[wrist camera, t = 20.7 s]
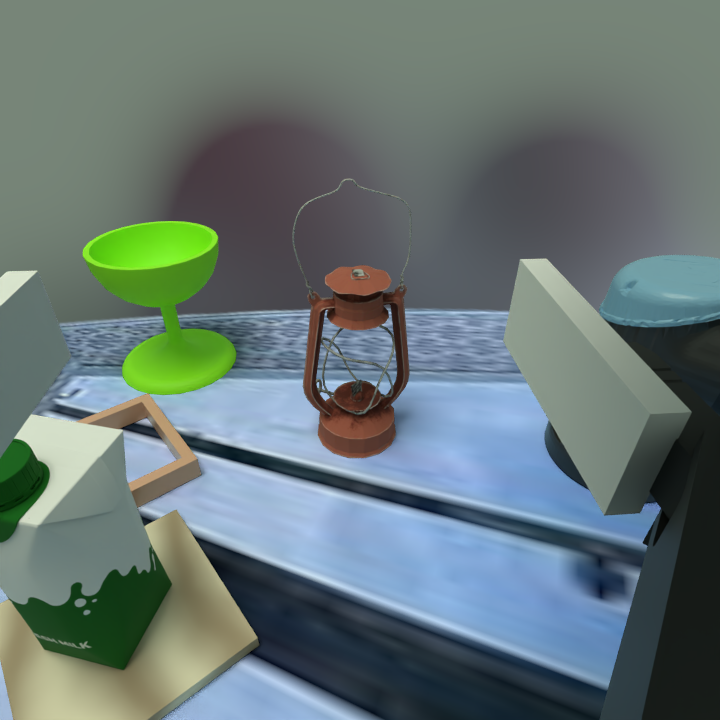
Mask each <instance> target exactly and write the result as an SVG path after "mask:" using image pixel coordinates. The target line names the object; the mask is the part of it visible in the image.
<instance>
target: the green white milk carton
mask: <svg viewBox="0 0 720 720" xmlns="http://www.w3.org/2000/svg"><path fill="white" fill-rule="evenodd" d="M171 585H172V583H171V581H170V579H169V577H168V575H167V573H166V571H165V569H164V568H163V566H162V564H161V562H160V560H159V558H158V556H157V554H156V552H155V551H154V549H153V547H152V545H151V543H150V540H149V537H148V535H147V532H146V530H145V527H144V524H143V522H142V519H141V516H140V514H139V511H138V509H137V506H136V503H135V501H134V498H133V495H132V493H131V490H130V487H129V485H128V482H127V478H126V466H125V452H124V437H123V430H119V429H113V428H108V427H102V426H96V425H90V424H84V423H78V422H72V421H67V420H61V419H55V418H49V417H43V416H37V415H30V416H29V418H28V419H27V421H26V422H25V423H24V425H23V426H22V428H21V429H20V431H19V432H18V433H17V435H16V436H15V438H14V439H13V441H12V442H11V443H10V445H9V446H8V448H7V449H6V451H5V452H4V453H3V455H2V456H1V458H0V587H1V589H2V590H3V591H4V593H5V594H6V596H7V597H8V598H9V600H10V601H11V602H12V604H13V605H14V607H15V608H16V609H17V611H18V612H19V614H20V615H21V616H22V618H23V619H24V620H25V622H26V623H27V625H28V626H29V627H30V629H31V631H32V632H33V634H34V635H35V637H36V638H37V640H38V641H39V643H40V644H41V646H42V647H43V649H44V650H48V651H52V652H55V653H59V654H63V655H67V656H71V657H75V658H78V659H82V660H86V661H90V662H94V663H98V664H101V665H105V666H109V667H113V668H117V669H120V670H124V669H125V667H126V666H127V664H128V662H129V660H130V658H131V657H132V655H133V653H134V651H135V650H136V648H137V646H138V644H139V642H140V641H141V639H142V637H143V635H144V634H145V632H146V630H147V628H148V626H149V625H150V623H151V621H152V619H153V617H154V616H155V614H156V612H157V610H158V609H159V607H160V605H161V603H162V601H163V600H164V598H165V596H166V594H167V592H168V591H169V589H170V587H171Z"/></svg>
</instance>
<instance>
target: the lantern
mask: <svg viewBox="0 0 720 720" xmlns="http://www.w3.org/2000/svg"><path fill="white" fill-rule="evenodd" d="M347 180H351V181H353V182H354V184H355V185H356V186H357V187H359V188H361V189H365V190H368V191H372V192H376V193H380V194H384V195H388V196H392V197H395V198H397V199H399V200H401V201H403V202H405V201H404V200H403V199H401V198H399V197H396V196H393V195H390V194H386V193H382V192H377V191H374V190H370V189H366V188H363V187H360V186H358V185H357V184H356V183H355V181H354V180H353V179H345V180H343V181H342V182H341V184H340V186H339V188H338V189H337V190H335V191H333V192H331V193H328V194H325V195H322V196H319V197H317V198H315V199H312V200H310V201H309V202H307V203H305V204H304V205H303V206H302V207H301V209H300V211H299V212H298V214H297V217H296V220H295V223H294V228H293V247H294V251H295V254H296V257H297V260H298V263H299V265H300V268H301V270H302V273H303V275H304V278H305V280H306V286H307V287H308V288H309V292H310V289H311V291H312V292H310V293H309V294H308V297H307V298H308V300H309V302H310V304H311V305H312V306H311V313H310V323H309V332H308V342H307V351H306V361H305V370H304V379H303V389H304V393H305V395H306V397H307V399H308V401H309V402H310V403H311V404H312V405H313V407H315V408H316V409H317V410H318V411H320V417H319V420H320V424H319V428H318V437H319V439H320V441H321V443H322V445H323V446H325V447H326V448H327V449H329V450H330V451H331V452H332V453H334V454H337V455H341V456H344V457H347V458H366V457H370V456H373V455H376V454H380V453H381V452H382V451H384V450H385V449H387V448H388V447H389V446H391V444H392V442H393V440H394V438H395V436H396V431H395V424H394V408H393V407H392V406H391V404H392V403H393V402H394V401H395V400H396V399H397V398H398V397H399V395H400V394H401V392H402V391H403V390H404V388H405V387H406V385H407V382H408V379H409V360H408V347H407V334H406V321H405V308H404V298H403V297H404V295H405V294H406V291H407V287H406V286H405V285H403V280H404V277H403V273H404V270H405V268H406V266H407V263H408V260H409V257H410V250H411V211H410V208H409V205H408V204H407V203H406V202H405V204H406V205H407V206H408V209H409V213H410V247H409V255H408V259H407V262H406V265H405V267H404V269H403V271H402V275H400V277H401V280H400V281H401V282H400V285H399V286H398V287H397V288H396V289H395V291H394V292H389V293H383V290H386V289H387V288H388V287H389V285H390V283H391V279H390V277H389V275H388V274H387V273H386V272H385V271H383V270H376V269H374V268H371V267H369V266H365V265H361V266H355V267H340V268H337V269H335V270H334V271H333V272H332V273H330V274H328V275H326V278H325V283H326V285H327V286H329V287H330V288H331V289H332V290H333V297H330V298H320V296H319V295H318V294H317V293H316V292H313V290H312V288H311V287H310V286H309V284H308V281H307V279H306V276H305V274H304V272H303V269H302V267H301V264H300V262H299V259H298V256H297V253H296V249H295V244H294V232H295V226H296V222H297V219H298V216H299V213H300V212H301V210H302V208H304V207H305V206H306V205H307V204H308V203H310V202H312V201H313V200H316V199H318V198H320V197H323V196H326V195H329V194H332V193H334V192H336V191H338V190H339V189H340V187H341V185H342V183H343V182H344V181H347ZM401 283H402V285H401ZM400 288H401V289H403V288H404V290H403V291H399V290H400ZM314 296H315V298H314V299H311V297H312V298H313V297H314ZM386 304H390V305H391V313H392V322H393V332H394V337H393V334H392V333H391V332H390V331H389V329H388V328H386V327H384V326H382V324H384V323H385V322H386V321H387V319H388V318H389V314H388V310H387V309H386V308H385V307H384V305H386ZM325 310H328V311H327V318H328V319H329V321H330V322H331V323H332V324H334V325H336V326H338V327H340V329H339V331H338V332H337V333H336V334H335V335H334V337H333V338H332V340H329V339H327V338H324V337H323V338H321V337H322V330H323V322H324V315H325ZM378 326H379V327H381V328H383V329H385V330H387V331H388V333H389V334H390V335H391V337H392V341H393V347H392V353H391V356H390V358H389V361H388V363H387V365H386V367H385V369H384V367H382V366H380V365H378V364H376V363H373V362H368V361H361V360H355V359H350V358H346V357H344V356H343V355H342V353H341V351H340V349H339V348H338V346H337V345H336V344H335V343H334V342H333V341H334V339H335V337H336V336H337V335H338V334H339V332H340V331H341V330H343V329H344V328H345V329H349V330H367V329H372V328H376V327H378ZM323 340H326V341H328V342H330V345H329V347H327V346H326V345H325V344H324V342H323ZM321 343H322V345H323V346H324V347H325V348H326V349H327V353H326V356H325V360H324V364H323V372H322V378H323V386H324V388H325V390H323V389H322V381H321V380H320V379H317V380H316V374H317V367H318V359H319V352H320V345H321ZM332 344H333V345H334V346H335V347H336V348H337V349H338V351H339V353H340V354H337V353H335V352H334V351H333V350H331V349H330V347H331V345H332ZM394 346H395V351H396V361H397V377H396V381H395V383H394V385H393V384H392V381H391V379H390V376H389V374H388V373H387V371H386V370H387V368H388V366H389V364H390V361H391V359H392V356H393V353H394ZM329 351H330V352H331V353H333V354H334V355H336V356H338V357H340V358H342V359H343V361H344V363H345V365H346V367H347V369H348V371H349V372H350V374H351V375H352V376H353V377H354V378H355V380H356V381H352V382H348V383H344V384H342V385H341V386H339V387H337V389H336V390H335V392H334V393H333V392H330V391H328V390H327V388H326V386H325V381H324V371H325V364H326V360H327V356H328V352H329ZM345 360H348V361H352V362H357V363H364V364H370V365H375V366H377V367H379V368H381V369H383V373H382V375H381V377H380V380H379V382H378V384H377V387H375V386H374V385H372V384H371V383H370V382H367V381H361V380H357V378H356V377H355V376H354V375H353V373H352V372H351V371H350V369H349V367H348V365H347V363H346V361H345ZM384 373H385V374H386V375H387V376H388V379H389V381H390V384H391V389H390V391H389V392H388V394H387V395H383V394H381V393H380V391H379V390H378V387H379V384H380V382H381V380H382V378H383V376H384ZM317 382H319V388H317V385H316V383H317ZM320 392H324V393H327V394H328V395H329V396H330V398H329V399H327V400H326V401H325V400H324V399H323V398H322V397H321V395H320ZM330 394H331V395H334V396H331V395H330ZM383 397H384V398H383Z"/></svg>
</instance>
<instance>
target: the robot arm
mask: <svg viewBox="0 0 720 720" xmlns="http://www.w3.org/2000/svg"><path fill="white" fill-rule="evenodd" d="M599 311H600V315H599V314H598V313H597V312H596V311H595V309H594V308H593V307H592V306H591V305H590V304H589V303H588V302H587V301H586V300H585V299H584V298H583V297H582V296H581V295H580V294H579V293H578V292H577V291H576V289H575V288H574V287H573V286H572V285H571V284H570V283H569V282H568V281H567V280H566V279H565V278H564V277H563V276H562V275H561V274H560V273H559V272H558V270H557V269H556V268H555V267H554V266H553V265H552V264H551V263H550V262H549V261H548V260H547V259H521V260H520V263H519V268H518V273H517V278H516V282H515V287H514V292H513V297H512V302H511V306H510V311H509V316H508V321H507V326H506V330H505V335H504V340H503V342H504V343H505V345H506V347H507V349H508V350H509V352H510V354H511V355H512V357H513V359H514V361H515V362H516V364H517V366H518V368H519V369H520V371H521V373H522V374H523V376H524V378H525V380H526V381H527V383H528V385H529V387H530V388H531V390H532V392H533V393H534V395H535V397H536V399H537V400H538V402H539V404H540V405H541V407H542V409H543V411H544V412H545V414H546V416H547V418H548V419H549V421H548V424H547V427H546V431H545V444H546V447H547V450H548V452H549V454H550V455H551V457H552V459H553V460H554V461H555V463H556V464H557V465H558V466H559V467H560V468H561V469H562V470H563V471H564V472H565V473H566V474H567V475H568V476H570V477H571V478H572V479H574V480H575V481H577V482H578V483H580V484H581V485H583V486H585V487H587V488H589V490H590V492H591V493H592V495H593V497H594V499H595V500H596V502H597V504H598V505H599V507H600V509H601V511H602V512H603V514H604V515H618V514H635V513H640V512H641V510H642V508H643V506H644V504H645V502H655V501H656V502H657V503H658V505H659V506H660V507H661V510H660V512H659V514H658V515H657V517H656V519H655V521H654V523H653V525H652V526H651V528H650V530H649V532H648V534H647V535H646V537H645V539H644V541H643V544H645V545H647V546H648V547H647V551H646V554H645V558H644V562H643V565H642V569H641V572H640V576H639V580H638V583H637V587H636V590H635V594H634V597H633V601H632V605H631V608H630V612H629V615H628V619H627V623H626V626H625V630H624V633H623V637H622V641H621V644H620V648H619V651H618V655H617V659H616V662H615V666H614V669H613V673H612V677H611V680H610V684H609V687H608V691H607V694H606V698H605V702H604V705H603V709H602V712H601V716H600V720H720V259H717V258H712V257H704V256H694V255H664V256H656V257H649V258H644V259H641V260H638V261H635V262H632V263H630V264H628V265H627V266H625V267H623V268H622V269H621V270H620V271H619V272H618V273H617V274H616V275H615V277H614V279H613V280H612V283H611V285H610V288H609V290H608V293H607V295H606V298H605V300H604V301H603V302H602V304H601V305H600V309H599ZM70 358H71V354H70V352H69V349H68V347H67V344H66V341H65V339H64V336H63V334H62V331H61V329H60V326H59V324H58V321H57V319H56V316H55V314H54V311H53V308H52V306H51V303H50V301H49V298H48V296H47V293H46V291H45V288H44V286H43V283H42V281H41V278H40V275H39V273H38V271H10V272H7V273H5V274H4V275H3V276H2V277H1V278H0V458H1V456H2V455H3V453H4V452H5V451H6V449H7V448H8V446H9V445H10V443H11V442H12V441H13V439H14V438H15V436H16V435H17V433H18V432H19V431H20V429H21V428H22V426H23V425H24V423H25V422H26V421H27V419H28V418H29V416H30V415H31V413H32V412H33V411H34V409H35V408H36V406H37V405H38V403H39V402H40V401H41V399H42V398H43V396H44V395H45V393H46V392H47V391H48V389H49V388H50V386H51V385H52V383H53V382H54V381H55V379H56V378H57V376H58V375H59V373H60V372H61V371H62V369H63V368H64V366H65V365H66V363H67V362H68V361H69V359H70Z"/></svg>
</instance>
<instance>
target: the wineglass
mask: <svg viewBox="0 0 720 720" xmlns="http://www.w3.org/2000/svg"><path fill="white" fill-rule="evenodd" d="M217 256H218V236H217V234H216V233H215V231H213V230H212V229H210V228H209V227H206V226H203V225H200V224H195V223H189V222H177V221H166V222H165V221H164V222H150V223H142V224H136V225H131V226H126V227H122V228H119V229H116V230H113V231H109V232H107V233H105V234H103V235H100V236H98V237H96V238H95V239H93V240H92V241H90V242H89V243H88V244H87V245H86V246H85V248H84V249H83V257H84V259H85V261H86V263H87V265H88V267H89V269H90V271H91V272H92V274H93V275H94V276H95V278H96V279H97V280H98V281H99V282H100V283H101V284H102V285H103V286H104V287H105V289H106V290H108V291H110V292H111V293H113V294H115V295H116V296H118V297H119V298H121V299H123V300H125V301H127V302H131V303H134V304H138V305H142V306H146V307H160V308H161V312H162V316H163V320H164V324H165V328H166V332H165V333H162V334H159V335H156V336H154V337H152V338H150V339H147V340H145V341H144V342H142V343H141V344H139V345H138V346H136V347H135V348H134V349H133V350H132V351H131V352H130V353H129V354H128V356H127V357H126V359H125V361H124V364H123V366H122V374H123V378H124V380H125V381H126V383H127V384H128V385H129V386H131V387H133V388H134V389H136V390H138V391H141V392H145V393H148V394H158V395H170V394H181V393H185V392H189V391H194V390H197V389H200V388H202V387H205V386H207V385H210V384H212V383H213V382H215V381H217V380H218V379H220V378H222V377H223V376H224V375H225V374H226V373H227V372H228V371H229V370H230V369H231V368H232V366H233V364H234V363H235V361H236V350H235V348H234V345H233V344H232V343H231V342H230V341H229V340H228V339H227V338H226V337H225V336H223V335H221V334H219V333H216V332H213V331H209V330H205V329H180V325H179V321H178V316H177V312H176V308H175V304H177V303H180V302H183V301H185V300H187V299H188V298H190V297H191V296H193V295H194V294H195V293H197V292H198V291H199V290H200V289H202V288H203V286H204V285H205V284H206V282H207V281H208V279H209V278H210V276H211V275H212V273H213V271H214V267H215V264H216V260H217Z"/></svg>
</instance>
